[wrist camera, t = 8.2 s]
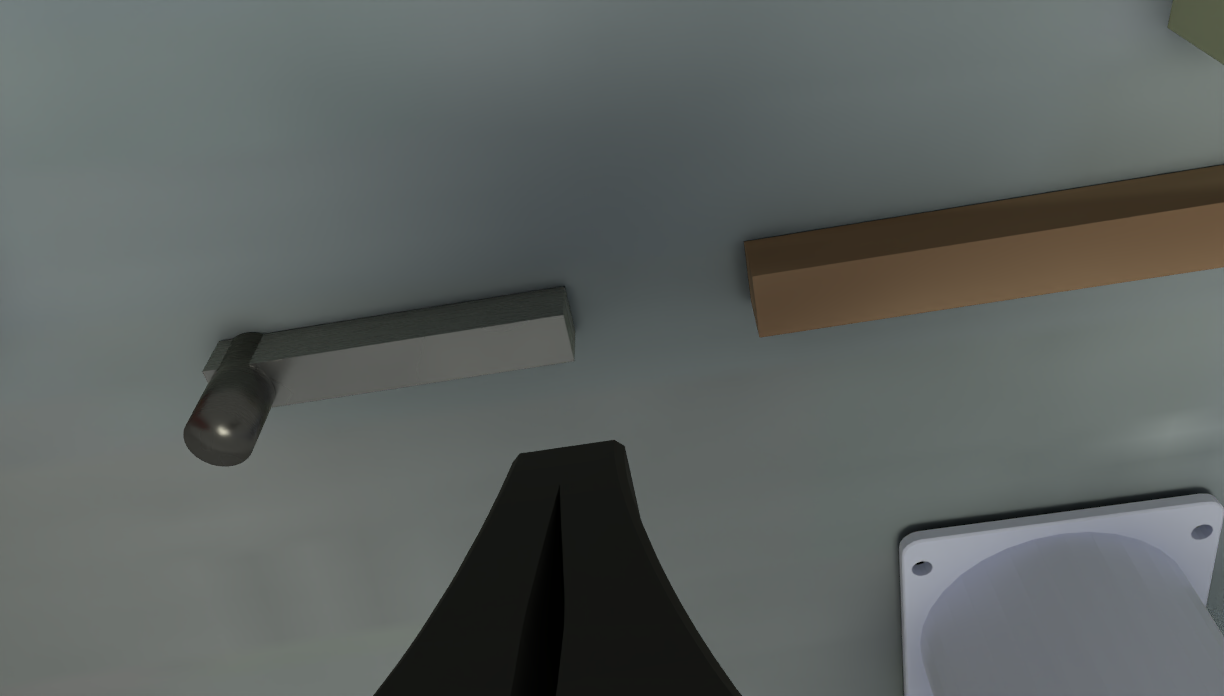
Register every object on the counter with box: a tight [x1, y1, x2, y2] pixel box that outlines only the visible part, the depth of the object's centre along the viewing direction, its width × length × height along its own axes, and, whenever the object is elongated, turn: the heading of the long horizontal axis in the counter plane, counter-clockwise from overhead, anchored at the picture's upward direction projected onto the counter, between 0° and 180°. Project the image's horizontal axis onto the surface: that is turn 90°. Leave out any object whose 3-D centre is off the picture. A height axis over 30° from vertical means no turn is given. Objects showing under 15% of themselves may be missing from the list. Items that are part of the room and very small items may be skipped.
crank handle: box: [184, 286, 575, 466], centre depth 23 cm, size 8×1×3 cm, turn 100°
